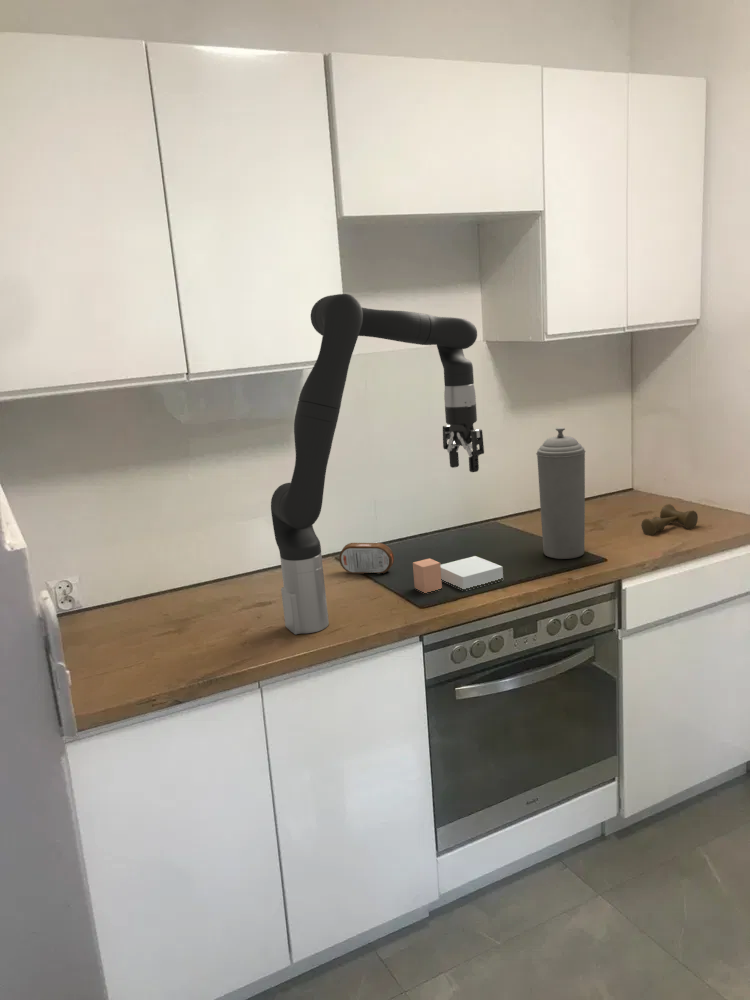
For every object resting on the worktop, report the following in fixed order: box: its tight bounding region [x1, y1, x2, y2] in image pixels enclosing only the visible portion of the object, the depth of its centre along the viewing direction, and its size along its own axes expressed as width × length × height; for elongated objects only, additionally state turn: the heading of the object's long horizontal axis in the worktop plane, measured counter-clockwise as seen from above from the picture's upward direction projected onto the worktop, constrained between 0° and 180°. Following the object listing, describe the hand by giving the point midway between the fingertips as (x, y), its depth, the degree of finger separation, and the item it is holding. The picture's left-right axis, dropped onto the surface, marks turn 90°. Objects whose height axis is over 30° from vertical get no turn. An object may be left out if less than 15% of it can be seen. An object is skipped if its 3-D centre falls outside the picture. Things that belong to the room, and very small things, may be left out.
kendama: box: [641, 503, 699, 537], centre depth 230 cm, size 6×10×20 cm
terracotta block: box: [412, 557, 443, 594], centre depth 197 cm, size 5×5×7 cm
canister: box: [535, 426, 586, 560], centre depth 211 cm, size 13×13×35 cm
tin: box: [338, 542, 395, 575], centre depth 213 cm, size 15×3×8 cm, turn 74°
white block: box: [440, 555, 504, 589], centre depth 201 cm, size 12×12×4 cm
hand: (464, 469), depth 193 cm, fingers open, 8 cm apart
